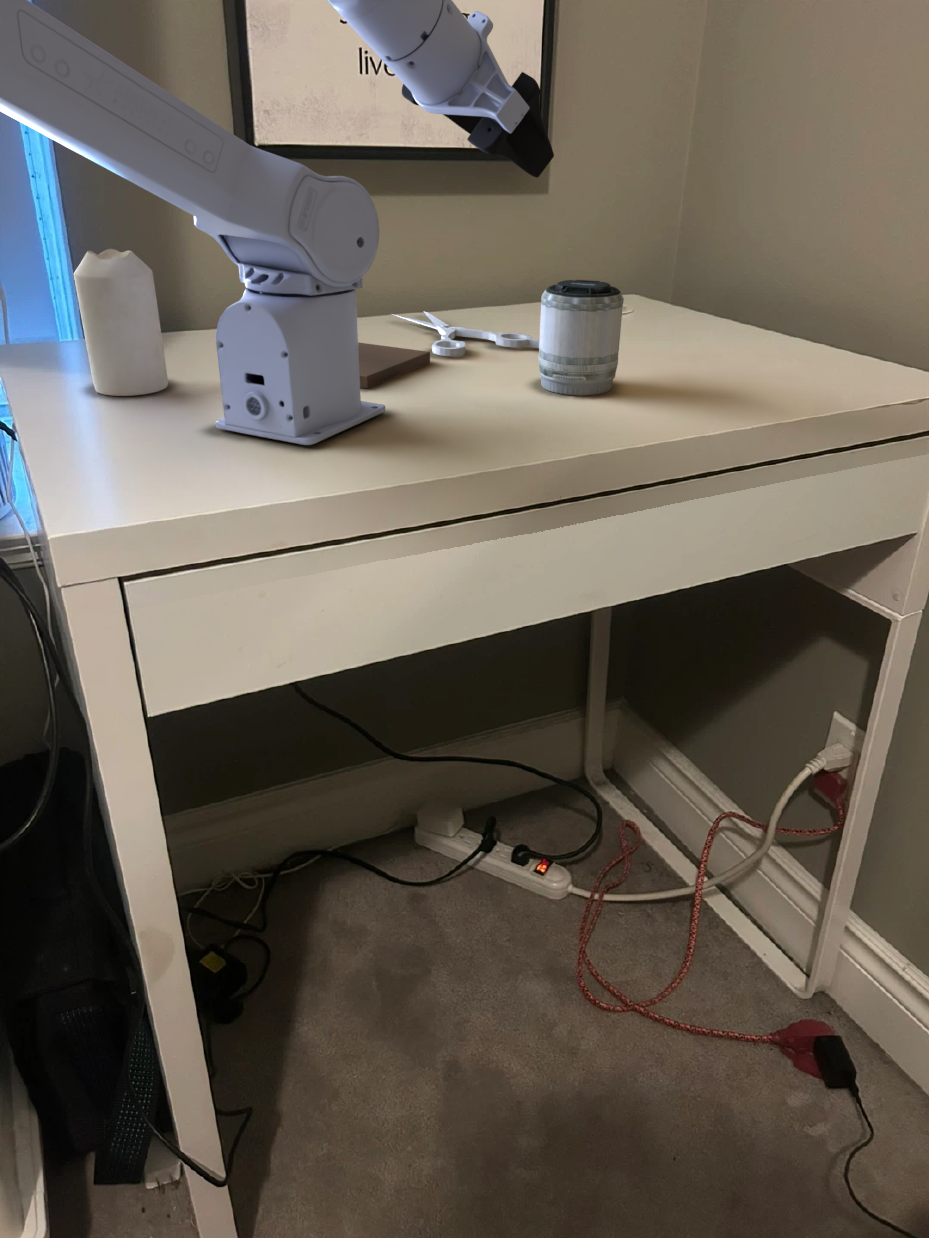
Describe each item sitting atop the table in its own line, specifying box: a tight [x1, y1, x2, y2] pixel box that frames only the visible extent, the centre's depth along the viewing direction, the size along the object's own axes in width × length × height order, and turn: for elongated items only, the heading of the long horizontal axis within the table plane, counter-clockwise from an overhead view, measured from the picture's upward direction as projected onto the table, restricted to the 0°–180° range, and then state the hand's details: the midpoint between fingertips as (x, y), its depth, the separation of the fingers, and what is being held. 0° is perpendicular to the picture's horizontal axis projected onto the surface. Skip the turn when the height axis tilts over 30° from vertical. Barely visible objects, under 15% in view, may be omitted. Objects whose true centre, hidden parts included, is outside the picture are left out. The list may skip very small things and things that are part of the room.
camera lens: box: [538, 279, 625, 397], centre depth 72 cm, size 6×6×8 cm
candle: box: [73, 248, 169, 397], centre depth 69 cm, size 6×6×10 cm
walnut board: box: [358, 341, 431, 390], centre depth 78 cm, size 10×10×1 cm
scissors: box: [391, 310, 540, 357], centre depth 90 cm, size 11×1×20 cm
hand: (513, 145), depth 71 cm, fingers open, 7 cm apart
